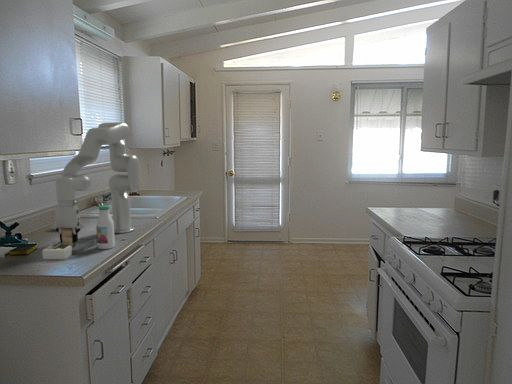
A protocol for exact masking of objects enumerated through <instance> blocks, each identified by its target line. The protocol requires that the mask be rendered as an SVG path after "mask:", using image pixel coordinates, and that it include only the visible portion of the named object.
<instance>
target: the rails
mask: <svg viewBox="0 0 512 384" xmlns="http://www.w3.org/2000/svg"><path fill="white" fill-rule="evenodd" d="M61 245H62V244H59V245H57V246H55V247H53V249H56V248H58V247H60V246H61ZM77 246H79V244H76V245H74V246H73V247H72V249H74V248H76V247H77Z"/></svg>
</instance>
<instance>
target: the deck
mask: <svg viewBox="0 0 512 384" xmlns="http://www.w3.org/2000/svg"><path fill="white" fill-rule="evenodd" d="M59 244H62V243H61V241H60V240H59V241H58V242H57V243H55V244H53V245H52V246H53V247H55V246H57V245H59ZM76 244H79V246H77V247H76V248H74V249H72V255H80V254H81V253H82V252H83V251H85V250H87V249H88V248H90V247H91V246H92V245H93V244H94V242H93V240H77V242H76ZM76 244H74V245H76ZM74 245H73V246H74ZM73 246H72V247H73ZM66 247H68V246H63V245H61V246H60V247H58V248H61V249H64V248H66ZM56 249H57V248H56Z"/></svg>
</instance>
